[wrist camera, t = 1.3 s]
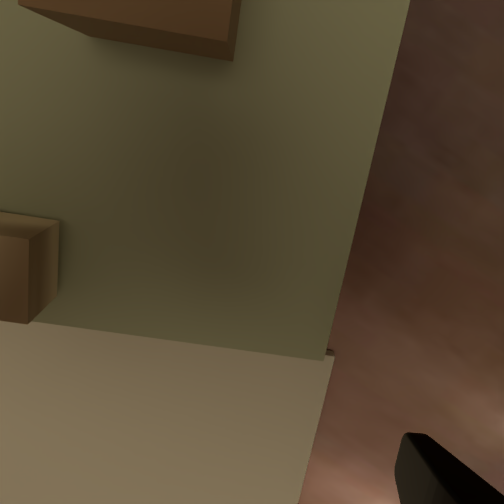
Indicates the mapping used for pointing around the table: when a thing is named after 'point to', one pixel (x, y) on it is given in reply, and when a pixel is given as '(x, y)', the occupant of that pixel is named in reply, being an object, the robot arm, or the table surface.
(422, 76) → the table surface
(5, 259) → the wooden key
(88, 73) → the lid
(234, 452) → the mat
